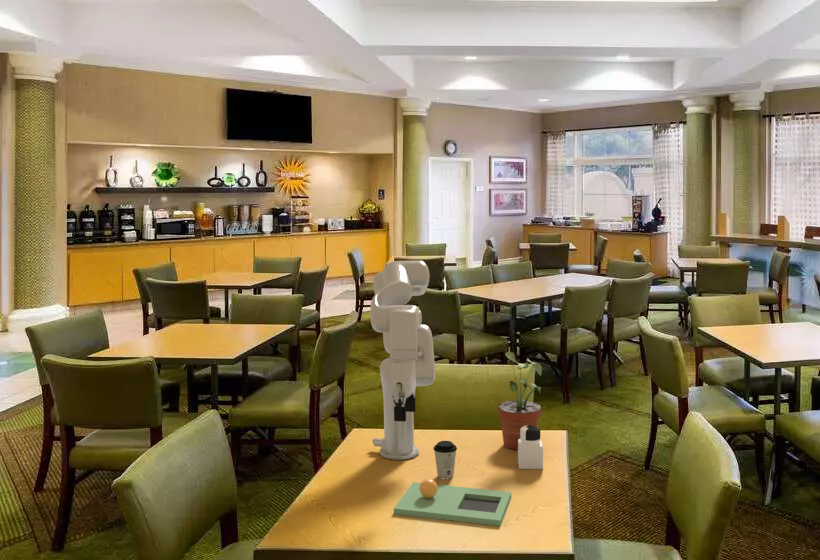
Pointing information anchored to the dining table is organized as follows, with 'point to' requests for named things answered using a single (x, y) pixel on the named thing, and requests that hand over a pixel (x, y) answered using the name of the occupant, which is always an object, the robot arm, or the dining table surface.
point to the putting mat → (456, 504)
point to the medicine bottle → (530, 448)
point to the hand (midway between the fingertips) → (405, 416)
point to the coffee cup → (445, 458)
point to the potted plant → (518, 408)
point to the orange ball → (428, 488)
